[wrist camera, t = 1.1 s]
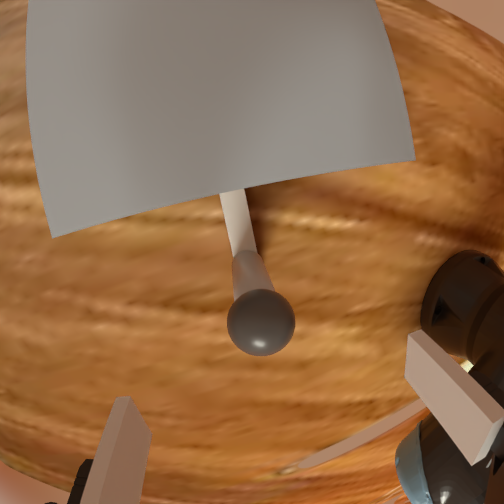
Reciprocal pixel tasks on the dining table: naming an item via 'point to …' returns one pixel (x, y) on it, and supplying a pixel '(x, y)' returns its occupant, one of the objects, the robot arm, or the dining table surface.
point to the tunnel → (203, 99)
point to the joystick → (253, 288)
